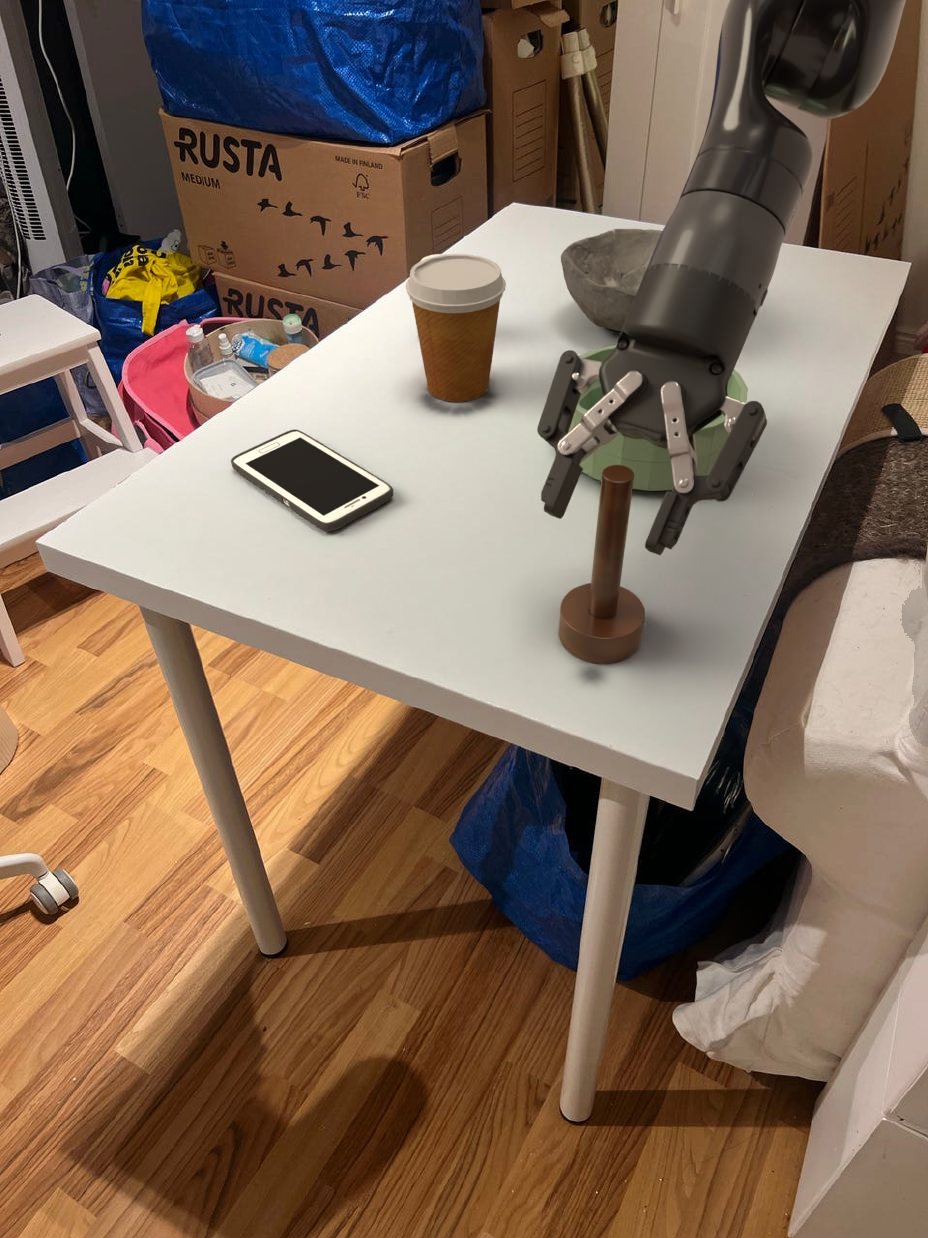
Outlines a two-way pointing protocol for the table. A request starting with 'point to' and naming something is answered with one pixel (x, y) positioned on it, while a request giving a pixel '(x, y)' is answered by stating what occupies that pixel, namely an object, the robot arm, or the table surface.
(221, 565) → the table surface
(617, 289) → the bowl
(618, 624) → the wooden rod on disc
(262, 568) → the table surface
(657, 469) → the mixing bowl
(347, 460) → the cell phone
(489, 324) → the disposable coffee cup
